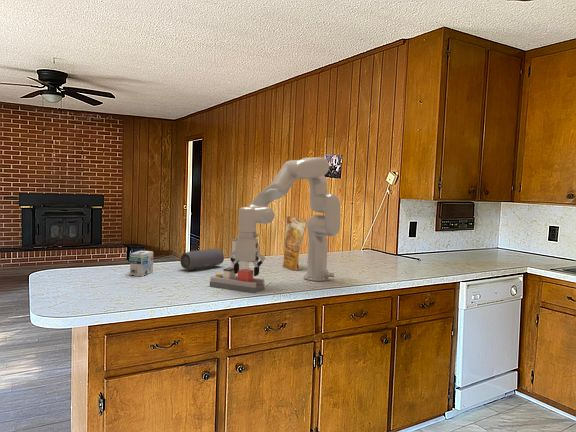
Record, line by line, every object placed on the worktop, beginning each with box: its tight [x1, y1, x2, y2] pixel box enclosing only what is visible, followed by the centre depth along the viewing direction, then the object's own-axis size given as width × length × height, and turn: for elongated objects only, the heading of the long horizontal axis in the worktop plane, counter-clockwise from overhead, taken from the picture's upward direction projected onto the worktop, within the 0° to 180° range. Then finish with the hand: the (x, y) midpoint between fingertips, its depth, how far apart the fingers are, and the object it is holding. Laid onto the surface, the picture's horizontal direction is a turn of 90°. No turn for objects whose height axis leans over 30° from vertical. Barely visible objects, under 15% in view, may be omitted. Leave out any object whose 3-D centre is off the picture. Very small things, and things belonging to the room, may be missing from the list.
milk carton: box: [230, 236, 250, 270], centre depth 242 cm, size 7×7×19 cm
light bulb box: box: [129, 250, 154, 277], centre depth 220 cm, size 11×7×11 cm, turn 168°
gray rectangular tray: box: [209, 272, 266, 294], centre depth 201 cm, size 22×10×5 cm, turn 67°
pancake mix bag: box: [282, 216, 307, 271], centre depth 250 cm, size 7×19×28 cm, turn 26°
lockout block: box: [237, 269, 254, 282], centre depth 199 cm, size 5×5×6 cm
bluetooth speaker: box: [179, 248, 225, 271], centre depth 239 cm, size 23×9×10 cm, turn 141°
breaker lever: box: [222, 266, 237, 280], centre depth 202 cm, size 3×6×6 cm, turn 157°
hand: (246, 274), depth 199 cm, fingers open, 9 cm apart
